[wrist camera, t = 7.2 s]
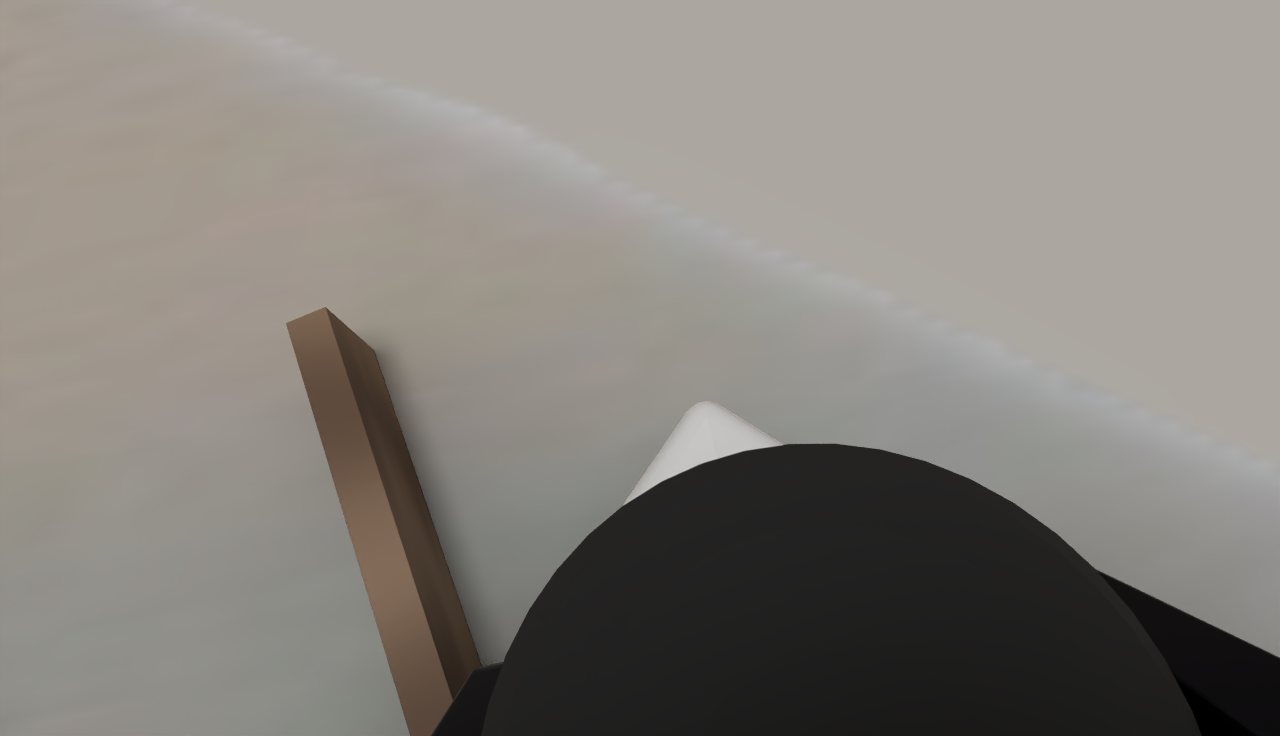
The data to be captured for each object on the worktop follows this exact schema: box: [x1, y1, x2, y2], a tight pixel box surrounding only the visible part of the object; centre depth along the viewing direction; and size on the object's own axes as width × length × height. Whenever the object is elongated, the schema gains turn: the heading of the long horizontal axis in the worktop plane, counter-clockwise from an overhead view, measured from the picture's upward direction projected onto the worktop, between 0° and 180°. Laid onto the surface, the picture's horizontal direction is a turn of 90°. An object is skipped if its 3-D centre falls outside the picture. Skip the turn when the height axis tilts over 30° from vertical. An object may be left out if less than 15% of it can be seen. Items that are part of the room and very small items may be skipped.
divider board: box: [286, 307, 481, 736], centre depth 17 cm, size 20×1×3 cm, turn 24°
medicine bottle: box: [481, 401, 1202, 736], centre depth 11 cm, size 7×7×12 cm
